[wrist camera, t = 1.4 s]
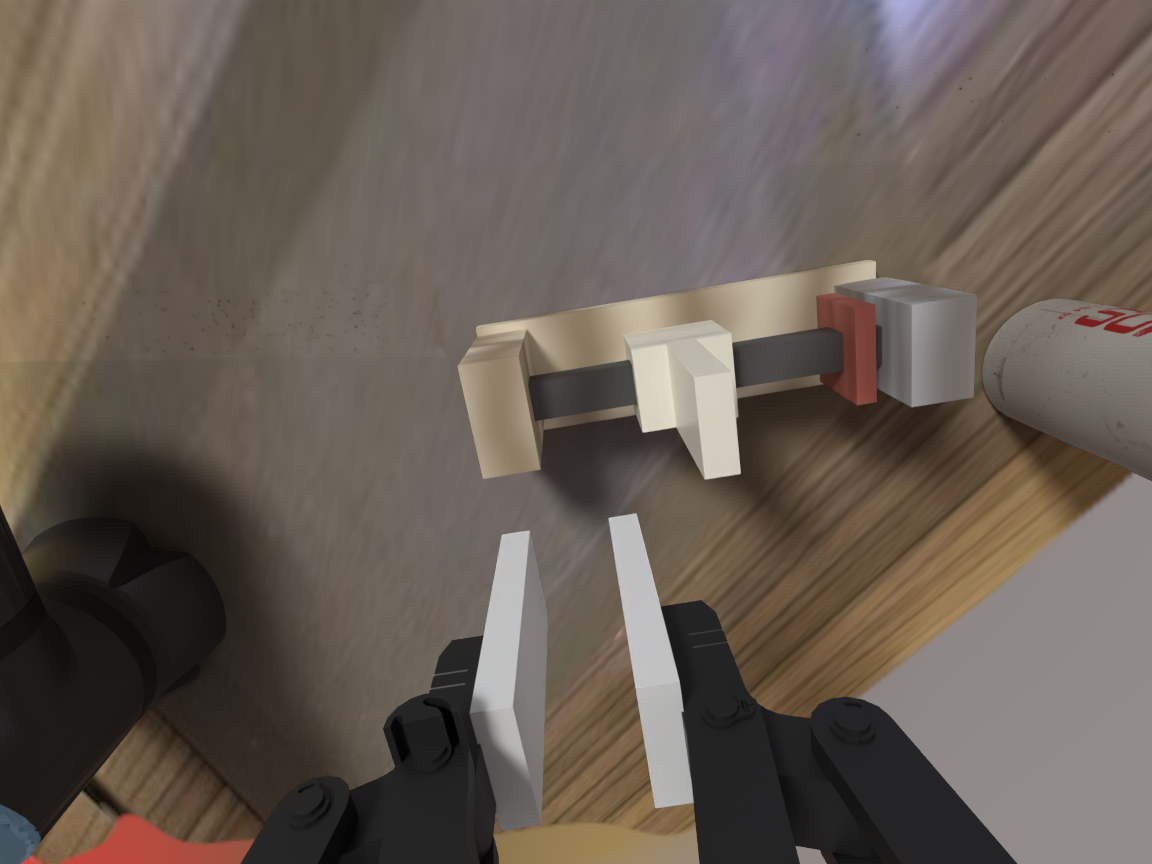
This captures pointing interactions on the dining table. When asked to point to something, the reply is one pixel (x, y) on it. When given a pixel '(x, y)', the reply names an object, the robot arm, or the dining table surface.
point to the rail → (607, 345)
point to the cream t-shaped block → (689, 390)
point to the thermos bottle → (1078, 377)
